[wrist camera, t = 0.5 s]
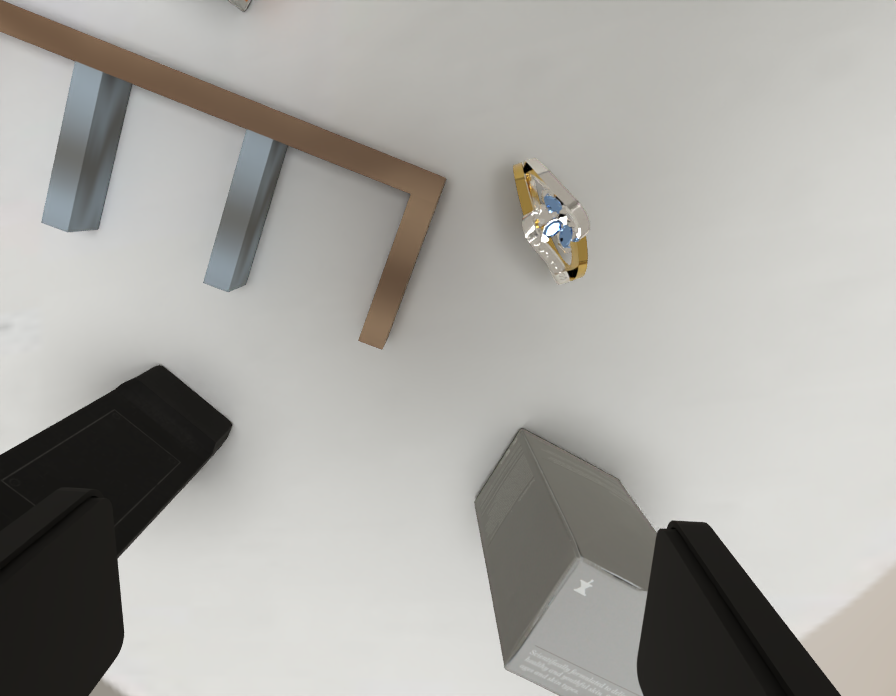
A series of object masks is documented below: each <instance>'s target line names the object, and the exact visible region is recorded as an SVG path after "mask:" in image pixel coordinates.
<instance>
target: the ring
mask: <svg viewBox="0 0 896 696" xmlns="http://www.w3.org/2000/svg"><path fill="white" fill-rule="evenodd" d="M513 171H514V177H515V182H516V187H517V192H518V196H519V200H520V204H521V208H522V212H523V215H524V217H523V219H522V228H523V232H524V234H525V236H526V238H527V240H528V242H529V243H530V245H531V246H532V247H533V248H534V250H535V251H536V252H537V253H538V254H539V255H540V256H541V258H542V259H543V260H544V261H545V262H546V264H547V266H548V268H549V270H550V272H551V274H552V276H553V278H554V280H555V282H556V283H557V284H558V285H561V284H564V283H568V282H569V281H573V280H576V279H579V278H581V277H583V276H584V274H585V272H586V269H587V261H588V251H587V240H586V235H587V234H588V232H589V229H590V222H589V218H588V215H587V213H586V211H585V210H584V208H583V207H582V205H581V204H580V203H579V202H578V201H577V199H576V198H575V197H574V196H573V195H572V194H571V193H570V192H569V191H568V190H567V189H566V188H565V187H564V186H563V185H562V184H561V182H560V181H559V180H558V179H557V178H556V177H555V176H554V175H553V174H552V173H551V172H550V171H549V170H548V169H547V168H546V167H545V166H544V165H543V164H542V163H541V162H540V161H539V160H537V159H536V158H532V159H529V160H525V161H524V162H523V164H522V162H521V163H518V164H515V165H513ZM534 178H535V179H536V181H537V182H538V183H539V184H540V185H541V186H542V187H543V188H544V189H545V190H542V202H544V204H542V205H541V204H540V201H539V197H538V193H537V189H536V184H535V179H534ZM548 193H549V194H550V195H551V196H548ZM566 212H567V213H568V214H569V216H570V217H571V218H572V220H573V221H572V220H570V219H569V218H567V217H565V215H566ZM557 216H558V217H557ZM571 227H576V229H575V231H572V228H571ZM556 234H557V239H558V242H559V243H558V246H559V247H560V249H561V250H563V251H564V252H565V253H566V254H568V253H569V252H570V251H571V253H572V261H571V265H568V264H567V263H566V262H565V261H564V260H563V259H562V257H561V256H560V254H559V253H558V251H557V249H556V247H555V245H554V243H553V241H552V238H551V237H553V236H555V235H556ZM569 243H570V246H571V248H570V247H569V246H568V245H569Z"/></svg>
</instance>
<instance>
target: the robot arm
mask: <svg viewBox="0 0 896 696" xmlns="http://www.w3.org/2000/svg"><path fill="white" fill-rule="evenodd" d="M123 639H124V625H123V614H122V604H121V593H120V582H119V572H118V561H117V550H116V540H115V529H114V518H113V508H112V503H111V502H110V500H109V499H107V498H104V497H103V495H102V493H101V492H100V491H99V490H97V489H83V488H59V489H57V490H56V491H54V492H53V493H51V494H50V495H49V496H47V497H46V498H45V499H43V500H42V501H41V502H39V503H38V504H37V505H35V506H34V507H32V508H31V509H30V510H28V511H27V512H26V513H24V514H23V515H22V516H20V517H19V518H18V519H16V520H15V521H13V522H12V523H11V524H9V525H8V526H7V527H5V528H4V529H3V530H1V531H0V696H89V694H90V693H91V691H92V690H93V689H94V687H95V686H96V685H97V683H98V682H99V681H100V679H101V678H102V677H103V675H104V674H105V672H106V671H107V670H108V668H109V667H110V666H111V664H112V663H113V662H114V660H115V659H116V657H117V656H118V654H119V652H120V650H121V647H122V644H123ZM637 677H638V682H639V685H640V688H641V691H642V693H643V696H841V695H840V694H839V692H838V691H837V690H836V688H835V687H834V686H833V685H832V683H831V682H830V681H829V679H828V678H827V677H826V675H825V674H824V673H823V672H822V670H821V669H820V668H819V666H818V665H817V664H816V663H815V661H814V660H813V659H812V657H811V656H810V655H809V653H808V652H807V651H806V650H805V648H804V647H803V646H802V644H801V643H800V642H799V641H798V639H797V638H796V637H795V635H794V634H793V633H792V631H791V630H790V629H789V628H788V626H787V625H786V624H785V622H784V621H783V620H782V619H781V617H780V616H779V615H778V613H777V612H776V611H775V610H774V608H773V607H772V606H771V604H770V603H769V602H768V600H767V599H766V598H765V597H764V595H763V594H762V593H761V591H760V590H759V589H758V588H757V586H756V585H755V584H754V582H753V581H752V580H751V578H750V577H749V576H748V575H747V573H746V572H745V571H744V569H743V568H742V567H741V566H740V564H739V563H738V562H737V560H736V559H735V558H734V556H733V555H732V554H731V553H730V551H729V550H728V549H727V547H726V546H725V545H724V544H723V542H722V541H721V540H720V538H719V537H718V536H717V534H716V533H715V532H714V531H713V529H712V528H711V527H710V526H709V525H708V524H707V523H704V522H688V521H671V522H670V523H669V524H668V526H667V529H659V530H658V532H657V536H656V541H655V547H654V554H653V560H652V566H651V573H650V579H649V585H648V592H647V598H646V605H645V611H644V617H643V624H642V630H641V637H640V643H639V649H638V656H637Z"/></svg>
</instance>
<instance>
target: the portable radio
mask: <svg viewBox="0 0 896 696" xmlns="http://www.w3.org/2000/svg"><path fill="white" fill-rule="evenodd" d="M231 426H232V425H231V423H230V421H229V420H227V419H226V418H225V417H224V416H223V415H221V414H220V413H219V412H218V411H216V410H215V409H214V408H213V407H212V406H210V405H209V404H208V403H207V402H205V401H204V400H203V399H202V398H201V397H199V396H198V395H197V394H196V393H195V392H193V391H192V390H191V389H190V388H188V387H187V386H186V385H185V384H184V383H182V382H181V381H180V380H179V379H178V378H176V377H175V376H174V375H173V374H171V373H170V372H169V371H168V370H167V369H165V368H164V367H162V366H160V365H158V366H156V367H153V368H151V369H150V370H148V371H146V372H144V373H143V374H141V375H139V376H137V377H136V378H133V379H131V380H129V381H127V382H124V383H122V384H121V385H120V386H119V387H117V388H116V389H115V390H113V391H111V392H110V393H108V394H106V395H105V396H103V397H101V398H99V399H98V400H96V401H94V402H92V403H91V404H89V405H87V406H85V407H84V408H82V409H80V410H78V411H77V412H75V413H73V414H71V415H70V416H68V417H66V418H64V419H63V420H61V421H59V422H57V423H56V424H54V425H52V426H50V427H49V428H47V429H45V430H43V431H42V432H40V433H38V434H36V435H35V436H33V437H31V438H29V439H28V440H26V441H24V442H22V443H21V444H19V445H17V446H15V447H14V448H12V449H10V450H8V451H7V452H5V453H3V454H1V455H0V531H1V530H3V529H4V528H5V527H7V526H8V525H9V524H11V523H12V522H13V521H15V520H16V519H18V518H19V517H20V516H22V515H23V514H24V513H26V512H27V511H28V510H30V509H31V508H32V507H34V506H35V505H37V504H38V503H39V502H41V501H42V500H43V499H45V498H46V497H47V496H49V495H50V494H51V493H53V492H54V491H56V490H57V489H59V488H83V489H97V490H99V491H100V492H101V493H102V495H103V497H104V498H107V499H109V500H110V502H111V503H112V508H113V518H114V529H115V540H116V550H117V559H118V557H119V556H120V555H121V554H122V553H123V552H124V551H125V550H126V549H127V548H128V547H129V546H130V545H131V543H132V542H133V541H134V540H135V539H136V538H137V537H138V536H139V535H140V534H141V533H142V532H143V531H144V530H145V528H146V527H147V526H148V525H149V524H150V523H151V522H152V521H153V520H154V519H155V518H156V517H157V516H158V515H159V513H160V512H161V511H162V510H163V509H164V508H165V507H166V506H167V505H168V504H169V503H170V502H171V501H172V499H173V498H174V497H175V496H176V495H177V494H178V493H179V492H180V491H181V490H182V489H183V488H184V487H185V486H186V484H187V483H188V482H189V481H190V480H191V479H192V478H193V477H194V476H195V475H196V474H197V473H198V472H199V471H200V469H201V468H202V467H203V466H204V465H205V464H206V463H207V461H208V460H209V459H210V458H211V457H212V456H213V455H214V454H215V452H216V451H217V450H218V449H219V448H220V447H221V446H222V444H223V443H224V441H225V440H226V439H227V437H228V435H229V432H230V429H231Z"/></svg>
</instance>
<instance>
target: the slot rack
mask: <svg viewBox="0 0 896 696" xmlns="http://www.w3.org/2000/svg"><path fill="white" fill-rule="evenodd" d="M0 32H3V33H5V34H8V35H10V36H13V37H15V38H18V39H20V40H23V41H25V42H28V43H31V44H33V45H36V46H38V47H41V48H43V49H46V50H48V51H51V52H53V53H56V54H58V55H61V56H63V57H66V58H68V59H71V60H73V61H75V64H74V69H73V74H72V79H71V83H70V88H69V93H68V98H67V102H66V107H65V112H64V117H63V121H62V126H61V131H60V136H59V141H58V145H57V150H56V155H55V160H54V164H53V169H52V174H51V179H50V184H49V188H48V193H47V198H46V203H45V207H44V212H43V217H42V222H41V223H44V224H46V225H49V226H52V227H55V228H57V229H60V230H63V231H65V232H76V231H86V230H97V229H98V227H99V223H100V219H101V214H102V210H103V206H104V201H105V197H106V193H107V189H108V184H109V180H110V176H111V171H112V167H113V163H114V159H115V154H116V150H117V146H118V141H119V137H120V133H121V129H122V124H123V120H124V116H125V111H126V107H127V103H128V99H129V94H130V90H131V86H132V84H134V85H137V86H139V87H142V88H144V89H147V90H149V91H152V92H154V93H157V94H159V95H162V96H164V97H167V98H169V99H172V100H175V101H177V102H180V103H182V104H185V105H187V106H190V107H192V108H195V109H197V110H200V111H202V112H205V113H207V114H210V115H212V116H215V117H217V118H220V119H223V120H225V121H228V122H230V123H233V124H235V125H238V126H240V127H243V128H245V129H247V130H246V134H245V137H244V141H243V144H242V148H241V151H240V155H239V158H238V162H237V165H236V169H235V172H234V176H233V179H232V183H231V186H230V190H229V193H228V197H227V201H226V204H225V208H224V211H223V215H222V218H221V222H220V225H219V229H218V232H217V236H216V239H215V243H214V246H213V250H212V253H211V257H210V261H209V264H208V268H207V271H206V275H205V278H204V282H203V283H205V284H207V285H210V286H213V287H215V288H218V289H221V290H224V291H226V292H230V291H232V290H234V289H237V288H239V287H242V286H244V285H246V282H247V279H248V275H249V272H250V269H251V265H252V262H253V259H254V255H255V252H256V249H257V246H258V242H259V239H260V236H261V232H262V229H263V226H264V222H265V219H266V216H267V212H268V209H269V206H270V202H271V199H272V196H273V193H274V189H275V186H276V183H277V179H278V176H279V173H280V169H281V166H282V163H283V159H284V156H285V153H286V149H287V146H291V147H293V148H296V149H298V150H301V151H303V152H306V153H308V154H311V155H313V156H316V157H319V158H321V159H324V160H326V161H329V162H331V163H334V164H336V165H339V166H341V167H344V168H346V169H349V170H351V171H354V172H356V173H359V174H362V175H364V176H367V177H369V178H372V179H374V180H377V181H379V182H382V183H384V184H387V185H389V186H392V187H394V188H397V189H399V190H402V191H404V192H407V193H410V194H411V195H410V197H409V200H408V203H407V206H406V209H405V211H404V214H403V217H402V220H401V223H400V225H399V228H398V231H397V234H396V237H395V239H394V242H393V245H392V248H391V251H390V253H389V256H388V259H387V262H386V265H385V267H384V270H383V273H382V276H381V279H380V281H379V284H378V287H377V290H376V292H375V295H374V298H373V301H372V304H371V306H370V309H369V312H368V315H367V318H366V320H365V323H364V326H363V329H362V332H361V334H360V337H359V340H358V341H360V342H363V343H366V344H368V345H371V346H374V347H376V348H379V349H383V347H384V345H385V343H386V340H387V338H388V336H389V333H390V330H391V328H392V325H393V322H394V320H395V317H396V314H397V312H398V309H399V306H400V303H401V301H402V298H403V295H404V293H405V290H406V287H407V284H408V282H409V279H410V276H411V274H412V271H413V268H414V266H415V263H416V260H417V257H418V255H419V252H420V249H421V247H422V244H423V241H424V239H425V236H426V233H427V230H428V228H429V225H430V222H431V220H432V217H433V214H434V212H435V209H436V206H437V203H438V201H439V198H440V195H441V193H442V190H443V187H444V185H445V182H446V178H445V177H442V176H440V175H437V174H435V173H432V172H430V171H427V170H425V169H422V168H420V167H417V166H415V165H412V164H410V163H407V162H405V161H402V160H400V159H397V158H395V157H392V156H390V155H387V154H385V153H382V152H380V151H377V150H375V149H372V148H370V147H367V146H365V145H362V144H360V143H357V142H355V141H352V140H350V139H347V138H345V137H342V136H340V135H337V134H335V133H332V132H330V131H327V130H325V129H322V128H320V127H317V126H315V125H312V124H310V123H307V122H305V121H302V120H300V119H297V118H295V117H292V116H290V115H287V114H285V113H282V112H280V111H277V110H275V109H272V108H270V107H267V106H265V105H262V104H260V103H257V102H255V101H252V100H250V99H247V98H245V97H242V96H240V95H237V94H235V93H232V92H230V91H227V90H225V89H222V88H220V87H217V86H215V85H212V84H210V83H207V82H205V81H202V80H200V79H197V78H195V77H192V76H190V75H187V74H185V73H182V72H180V71H177V70H175V69H172V68H170V67H167V66H165V65H162V64H160V63H157V62H155V61H152V60H150V59H147V58H145V57H142V56H140V55H137V54H135V53H132V52H130V51H127V50H125V49H122V48H120V47H117V46H115V45H112V44H110V43H107V42H105V41H102V40H100V39H97V38H95V37H92V36H90V35H87V34H85V33H82V32H80V31H77V30H75V29H72V28H70V27H67V26H65V25H62V24H60V23H57V22H55V21H52V20H50V19H47V18H45V17H42V16H40V15H37V14H35V13H32V12H30V11H27V10H25V9H22V8H20V7H17V6H15V5H12V4H10V3H7V2H5V1H2V0H0Z"/></svg>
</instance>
